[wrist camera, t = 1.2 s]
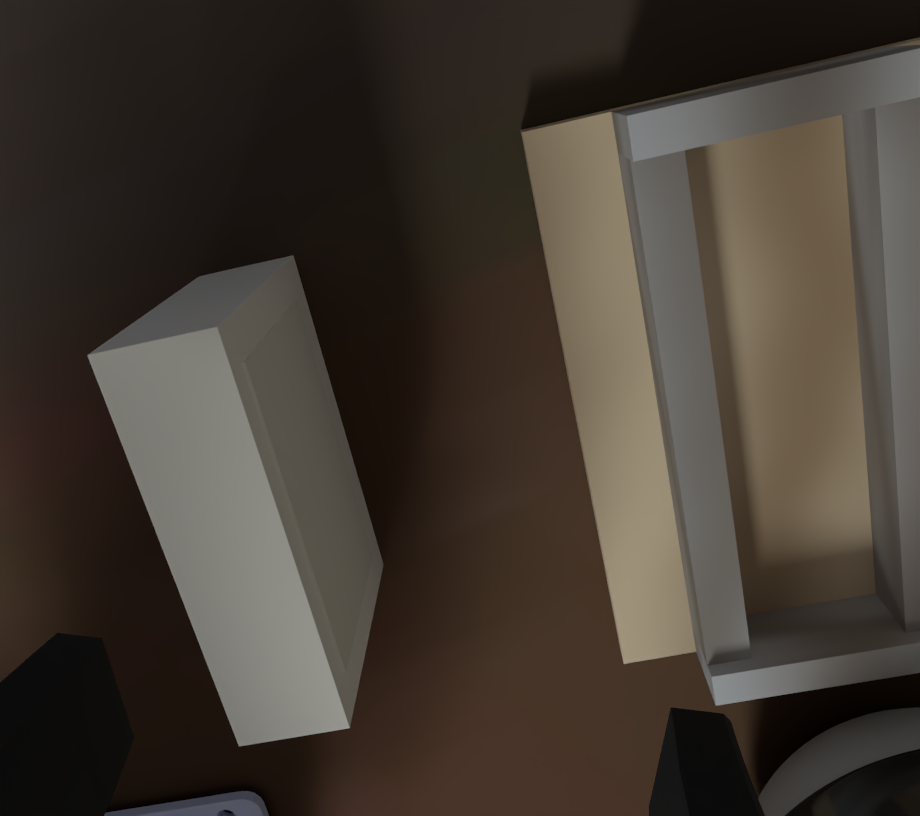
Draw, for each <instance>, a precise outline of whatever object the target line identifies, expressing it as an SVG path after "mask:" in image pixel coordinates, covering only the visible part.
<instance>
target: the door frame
mask: <svg viewBox="0 0 920 816" xmlns="http://www.w3.org/2000/svg"><path fill="white" fill-rule="evenodd" d="M520 131H521V136H522V141H523V146H524V151H525V157H526V162H527V167H528V172H529V177H530V183H531V188H532V193H533V198H534V203H535V209H536V214H537V219H538V224H539V229H540V235H541V240H542V245H543V250H544V255H545V261H546V266H547V271H548V276H549V281H550V287H551V292H552V297H553V302H554V307H555V313H556V318H557V323H558V328H559V333H560V339H561V344H562V349H563V354H564V359H565V365H566V370H567V375H568V380H569V385H570V391H571V396H572V401H573V406H574V411H575V417H576V422H577V427H578V432H579V437H580V443H581V448H582V453H583V458H584V463H585V469H586V474H587V479H588V484H589V489H590V495H591V500H592V505H593V510H594V515H595V521H596V526H597V531H598V536H599V541H600V547H601V552H602V557H603V562H604V567H605V573H606V578H607V583H608V588H609V593H610V599H611V604H612V609H613V614H614V619H615V625H616V630H617V635H618V640H619V645H620V650H621V654H622V658H623V662H624V664H626V663H632V662H638V661H644V660H650V659H655V658H661V657H667V656H673V655H679V654H685V653H691V652H696V653H697V655H698V658H699V661H700V664H701V666H702V669H703V672H704V675H705V677H706V680H707V683H708V686H709V688H710V691H711V694H712V696H713V699H714V702H715V705H716V706H717V705H723V704H729V703H736V702H742V701H748V700H754V699H760V698H767V697H773V696H779V695H785V694H791V693H798V692H804V691H810V690H816V689H822V688H829V687H835V686H841V685H847V684H853V683H860V682H866V681H872V680H878V679H884V678H891V677H897V676H903V675H909V674H915V673H920V37H918V38H914V39H910V40H906V41H901V42H897V43H893V44H888V45H884V46H880V47H875V48H871V49H867V50H863V51H858V52H854V53H850V54H845V55H841V56H837V57H832V58H828V59H824V60H820V61H815V62H811V63H807V64H802V65H798V66H794V67H789V68H785V69H781V70H777V71H772V72H768V73H764V74H759V75H755V76H751V77H746V78H742V79H738V80H734V81H729V82H725V83H721V84H716V85H712V86H708V87H703V88H699V89H695V90H691V91H686V92H682V93H678V94H673V95H669V96H665V97H660V98H656V99H652V100H648V101H643V102H639V103H635V104H630V105H626V106H622V107H617V108H613V109H609V110H605V111H600V112H596V113H592V114H587V115H583V116H579V117H574V118H570V119H566V120H562V121H557V122H553V123H549V124H544V125H540V126H536V127H531V128H527V129H523V130H520Z"/></svg>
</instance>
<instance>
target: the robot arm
mask: <svg viewBox="0 0 920 816" xmlns="http://www.w3.org/2000/svg"><path fill="white" fill-rule="evenodd" d="M133 738H134V736H133V733H132V730H131V727H130V724H129V721H128V717H127V714H126V711H125V708H124V705H123V702H122V699H121V696H120V693H119V690H118V687H117V684H116V681H115V678H114V675H113V672H112V668H111V665H110V662H109V659H108V656H107V653H106V650H105V647H104V644H103V641H102V638H94V637H85V636H77V635H69V634H61V633H57V634H56V635H55V636H54V637H52V638H51V639H50V640H49V641H48V642H46V643H45V644H44V645H43V646H42V647H41V648H39V649H38V650H37V651H36V652H35V653H34V654H32V655H31V656H30V657H29V658H28V659H27V660H25V661H24V662H23V663H22V664H21V665H20V666H19V667H17V668H16V669H15V670H14V671H13V672H12V673H11V674H9V675H8V676H7V677H6V678H5V679H4V680H3V681H1V682H0V816H269V814H268V811H267V809H266V806H265V804H264V801H263V800H262V798H261V797H260V796H258V795H257V794H256V793H253V792H250V791H238V792H232V793H226V794H220V795H213V796H207V797H201V798H195V799H188V800H182V801H176V802H170V803H163V804H157V805H151V806H145V807H138V808H132V809H126V810H120V811H113V812H107V813H105V812H106V810H107V807H108V805H109V802H110V800H111V797H112V795H113V792H114V790H115V787H116V785H117V782H118V780H119V777H120V774H121V771H122V769H123V766H124V763H125V760H126V758H127V755H128V752H129V749H130V747H131V744H132V741H133ZM224 810H229V811H231V812H233V813H227V812H225V811H224ZM649 816H765V814H764V812H763V810H762V807H761V805H760V802H759V800H758V797H757V795H756V792H755V789H754V787H753V784H752V782H751V779H750V776H749V774H748V771H747V768H746V765H745V763H744V760H743V757H742V754H741V751H740V748H739V745H738V743H737V739H736V736H735V733H734V730H733V727H732V723H731V721H730V720H729V719H728V718H727V717H726V716H725V715H724V714H720V713H712V712H704V711H696V710H687V709H679V708H671V709H670V714H669V718H668V723H667V728H666V732H665V737H664V741H663V746H662V750H661V755H660V759H659V764H658V768H657V773H656V777H655V782H654V787H653V791H652V796H651V800H650V805H649Z"/></svg>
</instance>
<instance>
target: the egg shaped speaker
mask: <svg viewBox="0 0 920 816" xmlns="http://www.w3.org/2000/svg"><path fill="white" fill-rule="evenodd" d="M758 800H759V802H760V805H761V807H762V810H763V812H764V814H765V816H920V707H916V708H901V709H893V710H886V711H880V712H875V713H871V714H867V715H863V716H860V717H857V718H854V719H851V720H848V721H846V722H843V723H841V724H838V725H836V726H834V727H832V728H830V729H828V730H826V731H824V732H823V733H821V734H819V735H817V736H816V737H814V738H813V739H811V740H810V741H808V742H807V743H805V744H804V745H803V746H802V747H800V748H799V749H798V750H797V751H796V752H794V753H793V754H792V755H791V756H790V757H789V758H788V759H787V760H786V761H785V762H784V763H783V764H782V765H781V766H780V767H779V768H778V769H777V771H776V772H775V773H774V774H773V775H772V777H771V778H770V780H769V781H768V783H767V784H766V785H765V787H764V788H763V790H762V792H761V793H760V795H759V797H758Z"/></svg>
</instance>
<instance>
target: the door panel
mask: <svg viewBox="0 0 920 816" xmlns="http://www.w3.org/2000/svg"><path fill="white" fill-rule="evenodd" d="M87 356H88V358H89V361H90V364H91V366H92V369H93V371H94V374H95V377H96V379H97V382H98V384H99V387H100V389H101V392H102V395H103V397H104V400H105V402H106V405H107V407H108V410H109V413H110V415H111V418H112V420H113V423H114V426H115V428H116V431H117V433H118V436H119V438H120V441H121V444H122V446H123V449H124V451H125V454H126V456H127V459H128V462H129V464H130V467H131V469H132V472H133V475H134V477H135V480H136V482H137V485H138V487H139V490H140V493H141V495H142V498H143V500H144V503H145V505H146V508H147V511H148V513H149V516H150V518H151V521H152V524H153V526H154V529H155V531H156V534H157V536H158V539H159V542H160V544H161V547H162V549H163V552H164V554H165V557H166V560H167V562H168V565H169V567H170V570H171V572H172V575H173V578H174V580H175V583H176V585H177V588H178V591H179V593H180V596H181V598H182V601H183V603H184V606H185V609H186V611H187V614H188V616H189V619H190V621H191V624H192V627H193V629H194V632H195V634H196V637H197V640H198V642H199V645H200V647H201V650H202V652H203V655H204V658H205V660H206V663H207V665H208V668H209V670H210V673H211V676H212V678H213V681H214V683H215V686H216V689H217V691H218V694H219V696H220V699H221V701H222V704H223V707H224V709H225V712H226V714H227V717H228V719H229V722H230V725H231V727H232V730H233V732H234V735H235V738H236V740H237V743H238V745H239V746H245V745H251V744H257V743H264V742H270V741H276V740H282V739H288V738H294V737H300V736H306V735H312V734H318V733H324V732H330V731H336V730H342V729H348V728H350V725H351V720H352V715H353V710H354V705H355V701H356V696H357V691H358V686H359V681H360V677H361V672H362V667H363V662H364V657H365V652H366V648H367V643H368V638H369V633H370V628H371V623H372V619H373V614H374V609H375V604H376V599H377V594H378V590H379V585H380V580H381V575H382V570H383V565H384V564H383V561H382V558H381V554H380V551H379V547H378V544H377V540H376V537H375V534H374V530H373V527H372V523H371V520H370V516H369V513H368V510H367V506H366V503H365V499H364V496H363V492H362V489H361V486H360V482H359V479H358V475H357V472H356V468H355V465H354V462H353V458H352V455H351V451H350V448H349V444H348V441H347V438H346V434H345V431H344V427H343V424H342V420H341V417H340V414H339V410H338V407H337V403H336V400H335V396H334V393H333V389H332V386H331V383H330V379H329V376H328V372H327V369H326V365H325V362H324V359H323V355H322V352H321V348H320V345H319V341H318V338H317V335H316V331H315V328H314V324H313V321H312V317H311V314H310V311H309V307H308V304H307V300H306V297H305V293H304V290H303V287H302V283H301V280H300V276H299V273H298V269H297V266H296V263H295V259H294V256H293V255H292V256H288V257H283V258H279V259H274V260H270V261H265V262H261V263H256V264H252V265H247V266H243V267H239V268H234V269H230V270H225V271H221V272H216V273H212V274H207V275H203V276H199V277H198V278H196V279H195V280H193V281H192V282H190V283H189V284H188V285H186V286H185V287H183V288H182V289H180V290H179V291H178V292H176V293H175V294H173V295H172V296H171V297H169V298H168V299H166V300H165V301H163V302H162V303H161V304H159V305H158V306H156V307H155V308H153V309H152V310H151V311H149V312H148V313H146V314H145V315H144V316H142V317H141V318H139V319H138V320H136V321H135V322H134V323H132V324H131V325H129V326H128V327H126V328H125V329H124V330H122V331H121V332H119V333H118V334H117V335H115V336H114V337H112V338H111V339H109V340H108V341H107V342H105V343H104V344H102V345H101V346H99V347H98V348H97V349H95V350H94V351H92V352H91V353H90V354H88V355H87Z"/></svg>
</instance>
